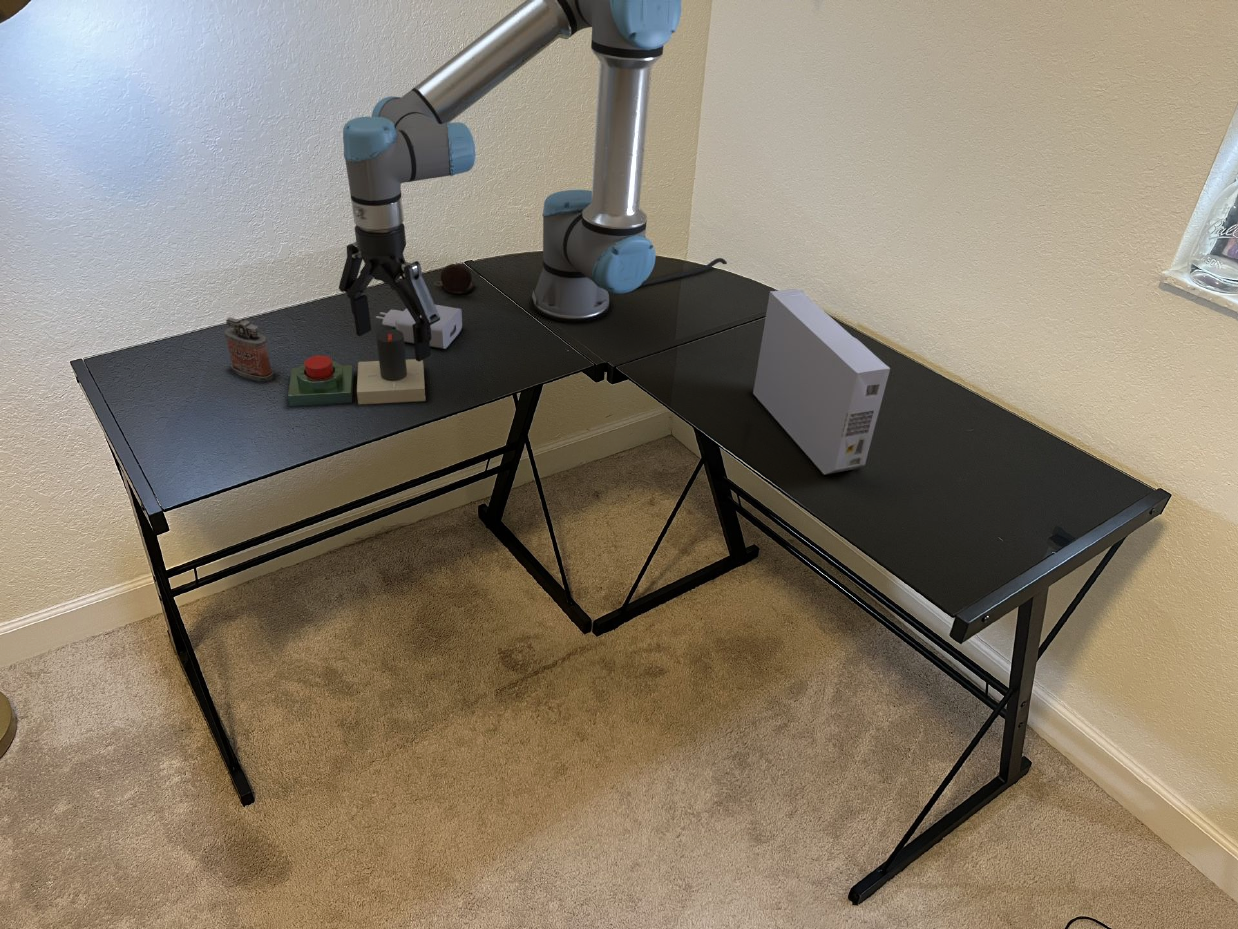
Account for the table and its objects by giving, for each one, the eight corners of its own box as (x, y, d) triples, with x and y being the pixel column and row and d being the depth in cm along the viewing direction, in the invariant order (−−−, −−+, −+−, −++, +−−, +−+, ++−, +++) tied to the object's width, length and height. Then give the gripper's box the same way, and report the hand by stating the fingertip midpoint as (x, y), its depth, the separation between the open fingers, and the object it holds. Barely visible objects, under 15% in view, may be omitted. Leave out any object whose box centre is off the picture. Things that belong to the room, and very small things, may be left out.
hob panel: (423, 370, 167) (422, 357, 166) (425, 401, 159) (424, 387, 158) (359, 374, 165) (358, 360, 164) (358, 404, 157) (356, 391, 156)
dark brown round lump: (474, 282, 197) (473, 249, 193) (471, 299, 191) (470, 265, 187) (436, 280, 197) (434, 247, 192) (431, 297, 190) (429, 264, 186)
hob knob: (380, 368, 162) (376, 328, 158) (406, 367, 163) (403, 326, 158) (380, 381, 159) (376, 340, 154) (407, 380, 160) (403, 339, 155)
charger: (389, 316, 183) (462, 329, 181) (368, 337, 176) (443, 351, 173) (387, 293, 180) (461, 306, 178) (365, 314, 173) (442, 328, 170)
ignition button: (334, 365, 160) (332, 354, 159) (332, 378, 157) (331, 368, 156) (307, 366, 159) (305, 356, 158) (305, 380, 156) (303, 369, 155)
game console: (781, 389, 169) (800, 287, 157) (863, 477, 149) (891, 368, 137) (752, 393, 167) (769, 291, 156) (831, 483, 147) (857, 373, 135)
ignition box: (353, 375, 165) (351, 355, 162) (352, 403, 158) (349, 382, 155) (293, 378, 163) (290, 358, 160) (289, 406, 156) (285, 386, 153)
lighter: (277, 375, 163) (268, 323, 158) (264, 383, 161) (254, 331, 155) (241, 363, 166) (231, 311, 160) (227, 371, 163) (216, 319, 158)
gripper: (304, 211, 148) (324, 331, 161) (422, 253, 137) (433, 378, 150) (340, 197, 153) (356, 314, 166) (456, 237, 142) (464, 359, 155)
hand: (393, 345), depth 158 cm, fingers open, 13 cm apart
